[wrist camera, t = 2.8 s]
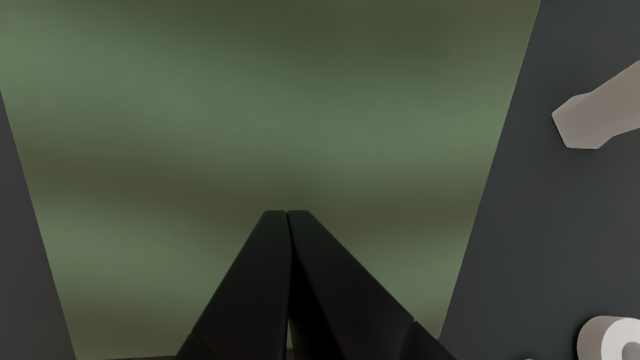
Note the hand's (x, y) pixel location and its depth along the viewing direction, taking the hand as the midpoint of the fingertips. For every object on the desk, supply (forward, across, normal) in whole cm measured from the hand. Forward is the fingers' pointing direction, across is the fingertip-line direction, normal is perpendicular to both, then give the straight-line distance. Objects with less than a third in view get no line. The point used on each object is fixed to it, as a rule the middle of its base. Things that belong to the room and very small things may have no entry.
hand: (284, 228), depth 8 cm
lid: (+4, 0, +2) cm, 5 cm away
